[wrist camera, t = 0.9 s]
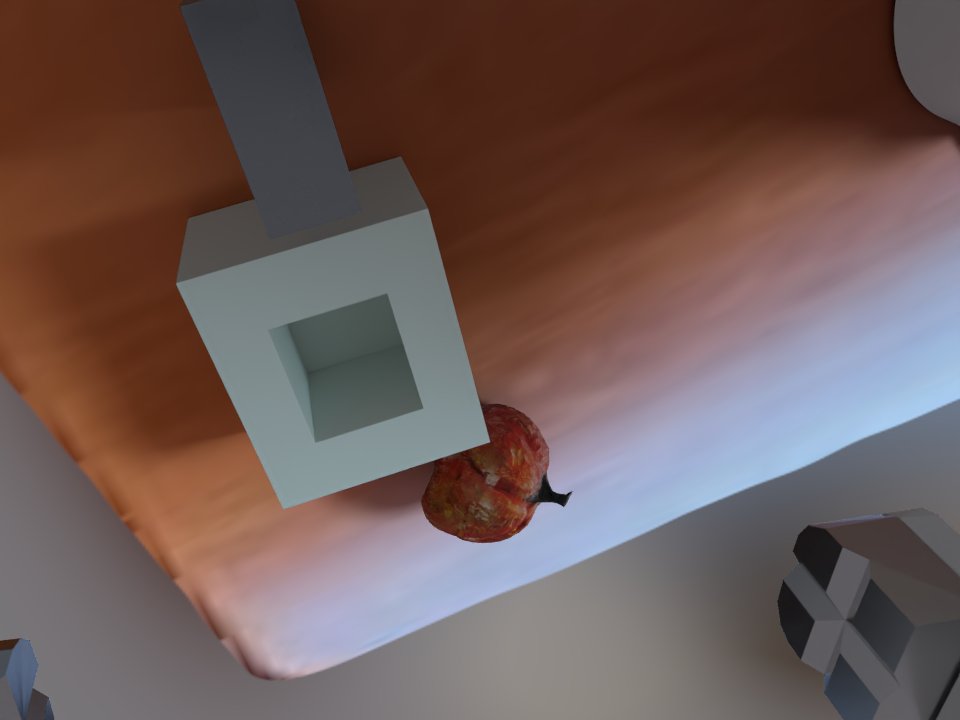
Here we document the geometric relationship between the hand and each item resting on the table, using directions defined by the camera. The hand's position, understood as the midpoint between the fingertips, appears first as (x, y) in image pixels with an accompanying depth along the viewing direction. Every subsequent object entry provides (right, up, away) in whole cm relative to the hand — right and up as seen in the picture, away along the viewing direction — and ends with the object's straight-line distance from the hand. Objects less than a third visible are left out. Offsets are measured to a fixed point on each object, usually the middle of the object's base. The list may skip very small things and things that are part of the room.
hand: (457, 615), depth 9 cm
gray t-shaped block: (-8, +16, +25) cm, 31 cm away
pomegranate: (-1, -2, +38) cm, 38 cm away
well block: (-7, +6, +32) cm, 33 cm away
